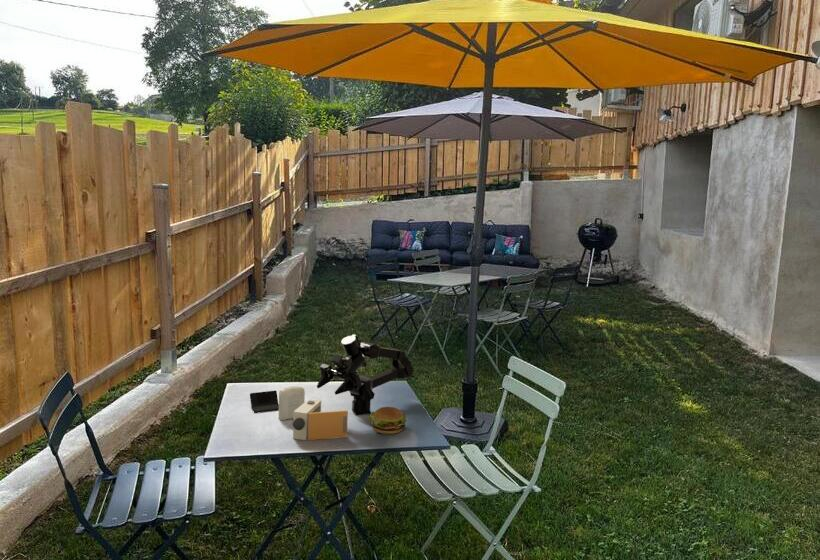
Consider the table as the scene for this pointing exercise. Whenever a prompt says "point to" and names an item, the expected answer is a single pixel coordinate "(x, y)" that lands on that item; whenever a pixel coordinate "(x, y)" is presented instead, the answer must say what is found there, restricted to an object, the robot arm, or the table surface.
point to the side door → (327, 425)
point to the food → (387, 420)
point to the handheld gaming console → (264, 401)
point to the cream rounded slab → (290, 401)
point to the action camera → (304, 417)
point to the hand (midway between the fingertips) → (326, 390)
